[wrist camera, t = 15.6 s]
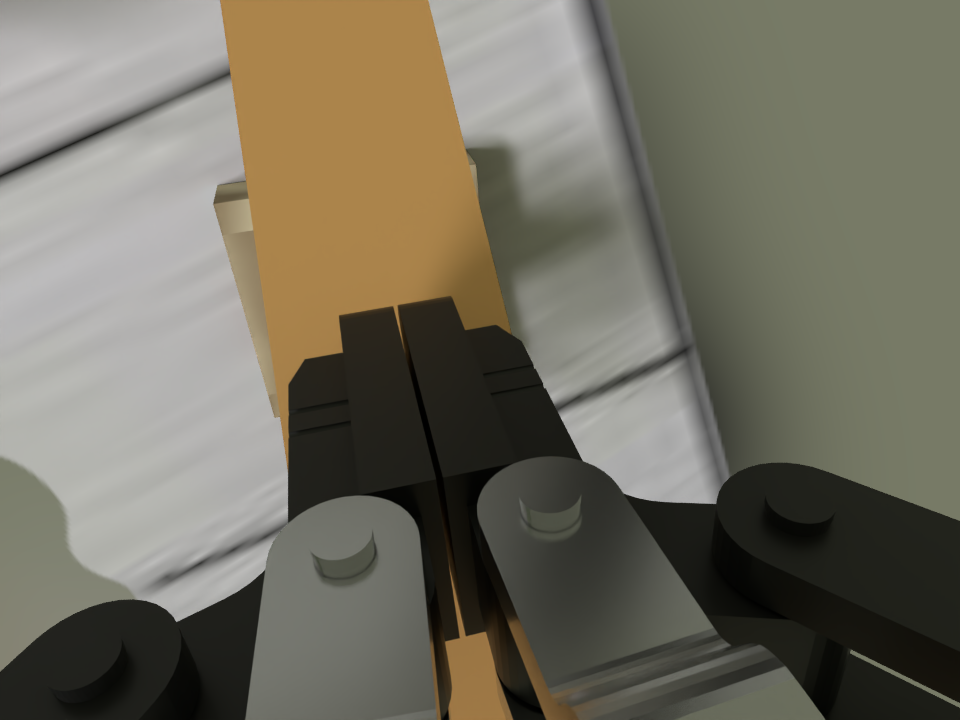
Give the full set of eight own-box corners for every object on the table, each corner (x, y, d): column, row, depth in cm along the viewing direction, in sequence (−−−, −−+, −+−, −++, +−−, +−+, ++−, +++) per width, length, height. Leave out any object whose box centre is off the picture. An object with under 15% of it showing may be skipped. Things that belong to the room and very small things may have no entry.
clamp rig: (285, 426, 44) (285, 757, 27) (106, -210, 28) (-160, -351, 11) (487, 387, 45) (604, 676, 29) (430, -235, 29) (619, -389, 13)
